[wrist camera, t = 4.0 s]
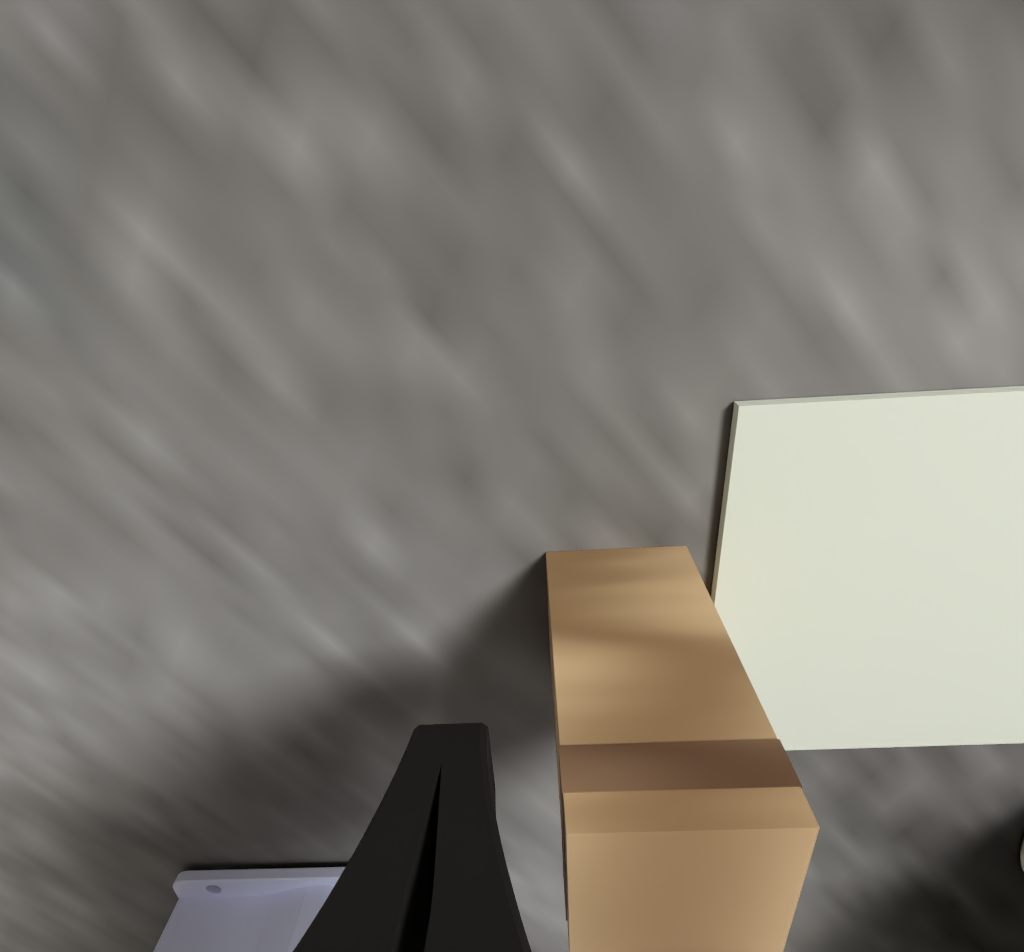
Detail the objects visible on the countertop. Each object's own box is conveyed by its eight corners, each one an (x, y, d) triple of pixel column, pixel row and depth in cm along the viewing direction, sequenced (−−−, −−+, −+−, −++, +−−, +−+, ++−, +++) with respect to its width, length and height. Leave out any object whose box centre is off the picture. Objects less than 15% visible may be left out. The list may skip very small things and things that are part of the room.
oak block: (549, 657, 16) (568, 961, 10) (544, 551, 14) (564, 832, 8) (677, 652, 16) (783, 958, 9) (686, 545, 14) (821, 826, 8)
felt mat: (693, 744, 17) (696, 753, 17) (734, 401, 12) (738, 405, 12) (1031, 733, 17) (1039, 742, 17) (1211, 375, 12) (1228, 380, 12)
